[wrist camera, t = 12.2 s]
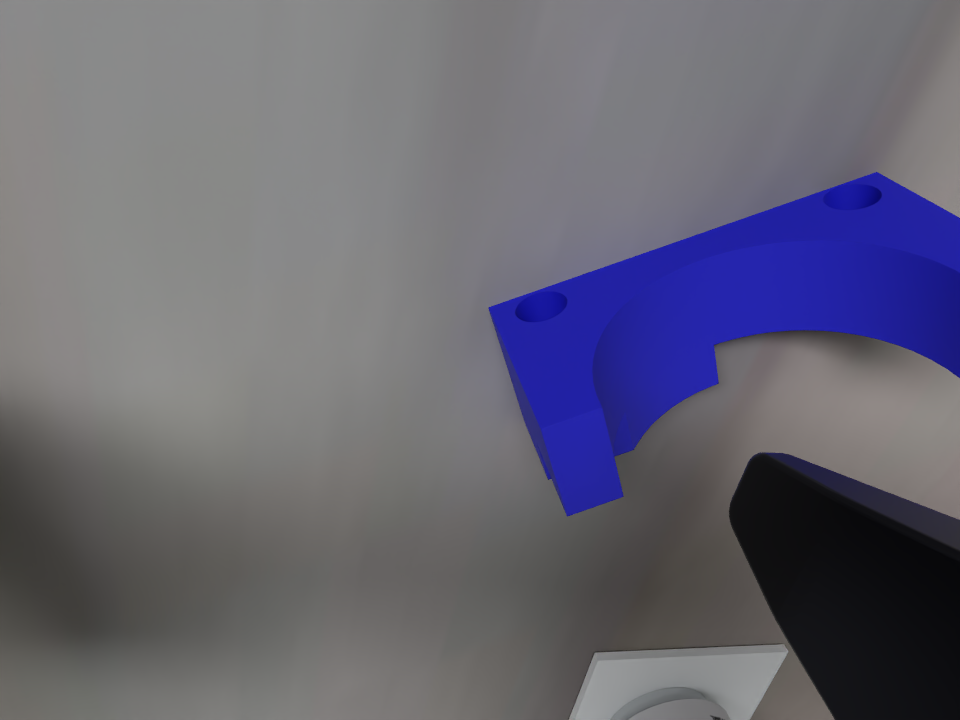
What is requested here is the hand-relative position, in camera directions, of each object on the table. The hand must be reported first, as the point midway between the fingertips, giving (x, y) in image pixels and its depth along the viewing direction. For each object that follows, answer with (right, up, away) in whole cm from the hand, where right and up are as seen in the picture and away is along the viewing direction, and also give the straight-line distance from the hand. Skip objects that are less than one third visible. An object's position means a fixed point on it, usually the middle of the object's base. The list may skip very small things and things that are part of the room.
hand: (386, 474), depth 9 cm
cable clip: (+7, +3, +16) cm, 18 cm away
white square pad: (+9, -15, +27) cm, 33 cm away
